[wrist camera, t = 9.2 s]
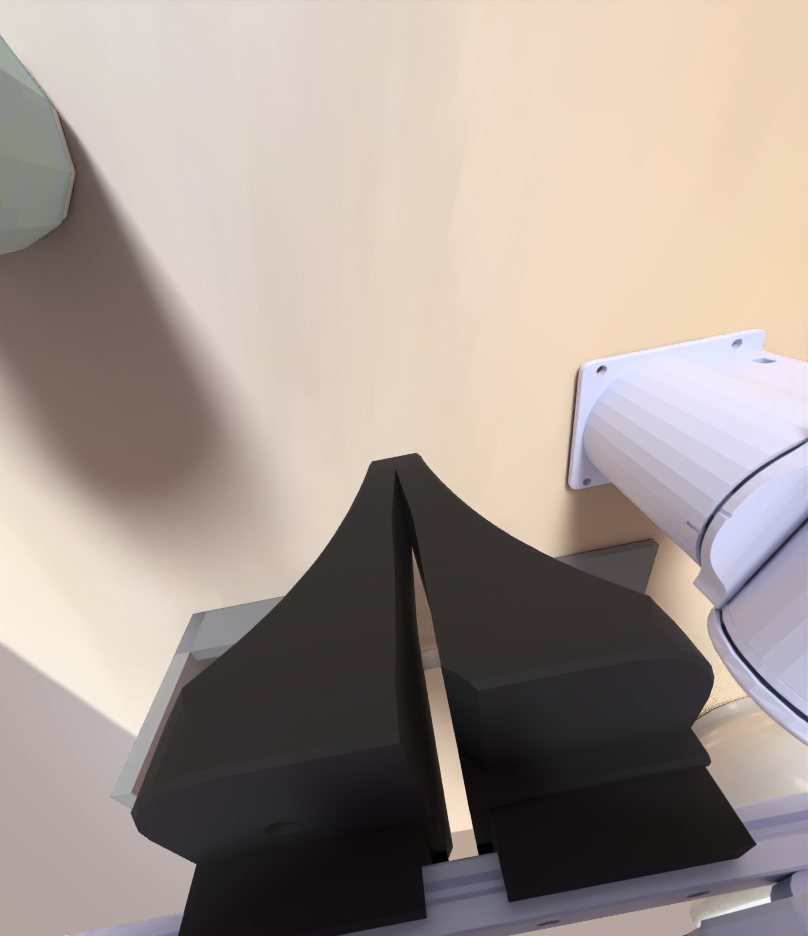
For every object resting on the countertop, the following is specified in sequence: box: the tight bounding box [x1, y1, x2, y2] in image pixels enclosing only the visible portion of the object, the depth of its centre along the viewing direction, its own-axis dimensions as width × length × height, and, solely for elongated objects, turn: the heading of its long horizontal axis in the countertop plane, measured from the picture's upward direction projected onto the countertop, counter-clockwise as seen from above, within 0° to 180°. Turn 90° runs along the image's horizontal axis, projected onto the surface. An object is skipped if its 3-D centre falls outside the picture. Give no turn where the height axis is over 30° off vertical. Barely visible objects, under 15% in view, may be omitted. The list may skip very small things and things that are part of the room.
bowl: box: [690, 696, 808, 928], centre depth 40 cm, size 32×32×15 cm
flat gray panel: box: [554, 539, 659, 594], centre depth 29 cm, size 12×9×1 cm
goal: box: [110, 596, 285, 809], centre depth 22 cm, size 9×12×15 cm
